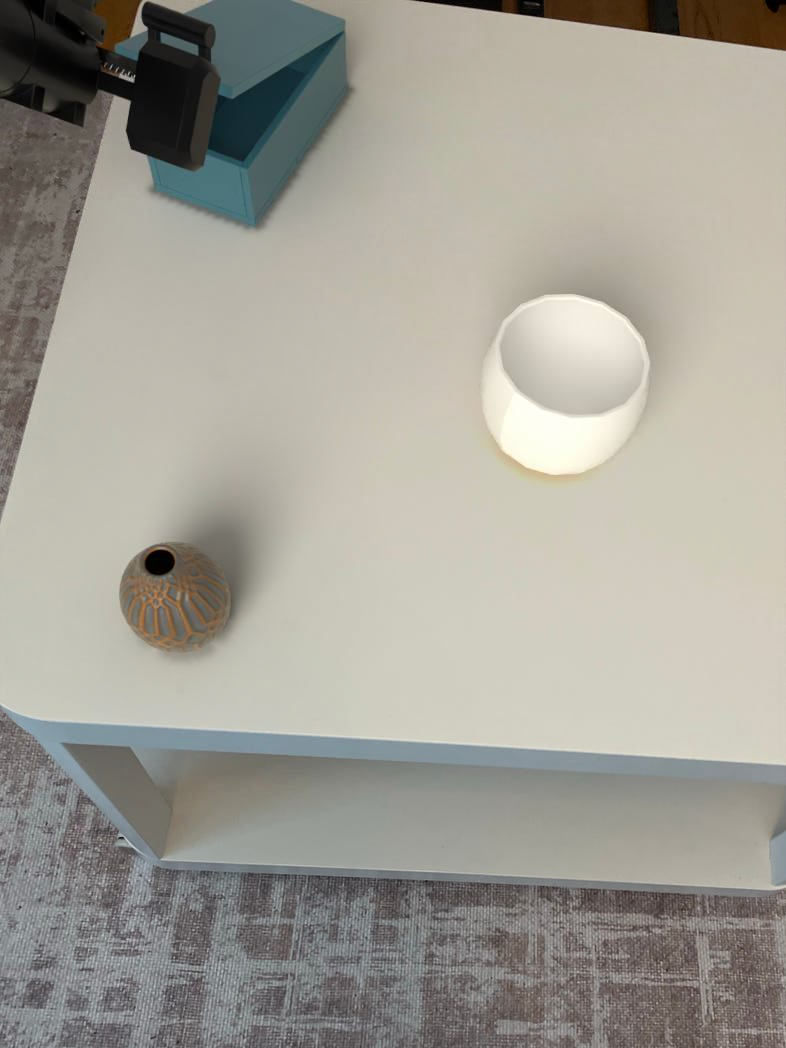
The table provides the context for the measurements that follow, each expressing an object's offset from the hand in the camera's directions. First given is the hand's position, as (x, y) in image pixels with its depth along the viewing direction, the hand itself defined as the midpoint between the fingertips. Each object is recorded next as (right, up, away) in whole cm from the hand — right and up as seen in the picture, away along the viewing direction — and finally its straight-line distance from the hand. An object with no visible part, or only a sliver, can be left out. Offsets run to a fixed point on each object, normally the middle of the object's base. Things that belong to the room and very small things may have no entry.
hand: (135, 100), depth 64 cm
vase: (+4, -37, 0) cm, 37 cm away
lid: (+5, +11, +10) cm, 15 cm away
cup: (+30, -22, +9) cm, 38 cm away
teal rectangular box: (+4, +7, +18) cm, 20 cm away
